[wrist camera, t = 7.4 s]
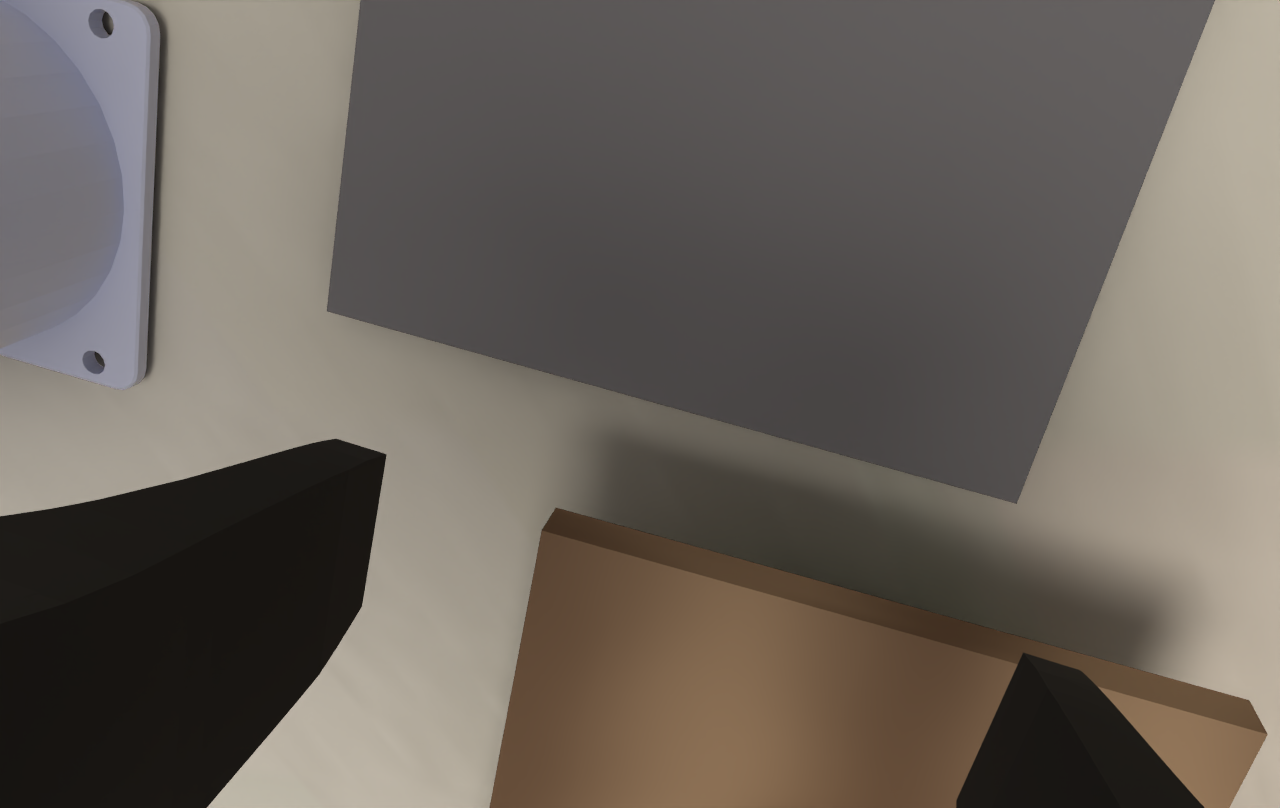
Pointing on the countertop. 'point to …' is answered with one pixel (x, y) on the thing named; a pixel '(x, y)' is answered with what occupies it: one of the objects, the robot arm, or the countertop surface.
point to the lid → (783, 689)
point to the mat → (763, 203)
